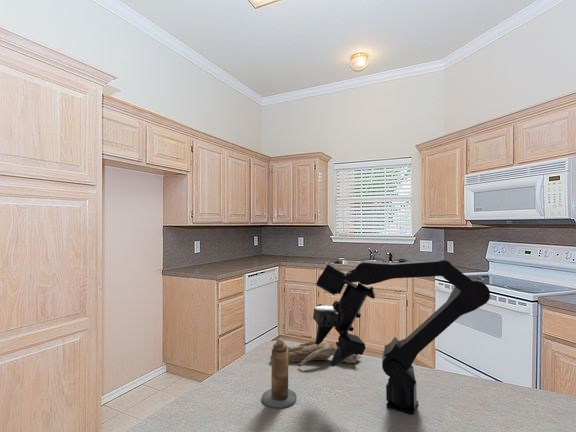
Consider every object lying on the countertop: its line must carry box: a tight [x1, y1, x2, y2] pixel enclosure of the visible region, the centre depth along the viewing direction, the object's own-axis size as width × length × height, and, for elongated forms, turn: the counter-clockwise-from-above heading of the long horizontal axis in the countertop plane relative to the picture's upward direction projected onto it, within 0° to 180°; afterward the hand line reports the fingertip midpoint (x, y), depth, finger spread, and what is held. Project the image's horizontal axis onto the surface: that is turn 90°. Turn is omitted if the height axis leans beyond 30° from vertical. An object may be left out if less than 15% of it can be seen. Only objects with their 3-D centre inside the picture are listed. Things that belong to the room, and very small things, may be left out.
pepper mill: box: [270, 338, 289, 401], centre depth 86 cm, size 4×4×15 cm
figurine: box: [270, 339, 362, 368], centre depth 112 cm, size 17×6×30 cm
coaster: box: [261, 388, 297, 409], centre depth 86 cm, size 9×9×1 cm
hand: (324, 354), depth 89 cm, fingers open, 9 cm apart
